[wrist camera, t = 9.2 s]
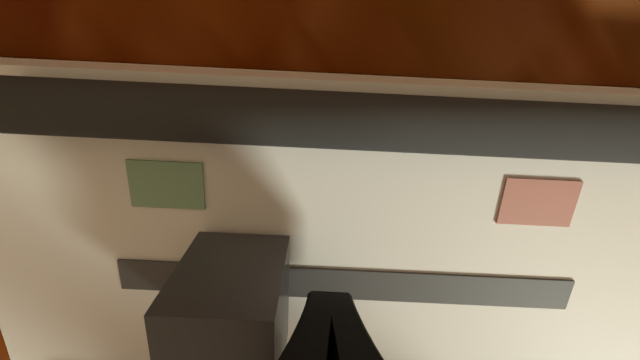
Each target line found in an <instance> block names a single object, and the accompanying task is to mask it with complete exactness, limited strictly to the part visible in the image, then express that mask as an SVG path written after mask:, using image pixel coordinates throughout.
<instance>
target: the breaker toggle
mask: <svg viewBox="0 0 640 360" xmlns="http://www.w3.org/2000/svg"><path fill="white" fill-rule="evenodd" d="M289 257H290V236H285V235H264V234H243V233H221V232H200V231H199V232H198V234H197V235H196V237H195V238H194V240H193V241H192V243H191V244H190V246H189V247H188V249H187V251H186V252H185V254H184V255H183V257H182V258H181V260H180V261H179V263H178V264H177V266H176V267H175V269H174V270H173V272H172V273H171V275H170V276H169V278H168V279H167V281H166V282H165V284H164V286H163V287H162V289H161V290H160V292H159V293H158V295H157V296H156V298H155V299H154V301H153V302H152V304H151V305H150V307H149V308H148V310H147V311H146V313H145V314H144V322H145V328H146V335H147V341H148V348H149V354H150V360H278V359H279V357H280V355H281V354H282V352H283V350H284V349H285V347H286V344H287V336H288V309H289Z"/></svg>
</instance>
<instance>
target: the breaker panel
mask: <svg viewBox="0 0 640 360" xmlns="http://www.w3.org/2000/svg"><path fill="white" fill-rule="evenodd" d="M0 75H10V76H31V77H52V78H73V79H93V80H114V81H135V82H156V83H176V84H197V85H218V86H239V87H260V88H280V89H301V90H322V91H343V92H363V93H384V94H405V95H426V96H446V97H467V98H488V99H509V100H529V101H550V102H571V103H592V104H612V105H633V106H640V88H628V87H607V86H586V85H565V84H545V83H524V82H503V81H483V80H462V79H441V78H421V77H400V76H379V75H359V74H338V73H317V72H296V71H276V70H255V69H234V68H214V67H193V66H172V65H152V64H131V63H110V62H90V61H69V60H48V59H27V58H7V57H0ZM199 231H200V232H221V233H243V234H264V235H285V236H290V257H289V309H288V336H287V343H288V342H289V340H290V338H291V336H292V334H293V332H294V330H295V328H296V326H297V324H298V322H299V319H300V317H301V314H302V312H303V309H304V307H305V303H306V300H307V295H308V293H309V292H311V291H328V292H348V293H349V294H350V295H351V296H352V299H353V301H354V304H355V306H356V309H357V311H358V313H359V316H360V318H361V320H362V322H363V324H364V326H365V328H366V330H367V332H368V333H369V335H370V337H371V339H372V340H373V342H374V344H375V346H376V348H377V349H378V351H379V352H380V354H381V356H382V357H383V359H384V360H640V164H632V163H611V162H590V161H569V160H548V159H527V158H506V157H485V156H464V155H443V154H422V153H401V152H380V151H359V150H338V149H317V148H296V147H275V146H254V145H233V144H212V143H191V142H170V141H149V140H128V139H107V138H86V137H65V136H44V135H23V134H3V133H0V329H1V332H2V335H3V338H4V341H5V344H6V347H7V350H8V353H9V356H10V359H11V360H150V354H149V348H148V341H147V335H146V328H145V322H144V314H145V313H146V311H147V310H148V308H149V307H150V305H151V304H152V302H153V301H154V299H155V298H156V296H157V295H158V293H159V292H160V290H161V289H162V287H163V286H164V284H165V282H166V281H167V279H168V278H169V276H170V275H171V273H172V272H173V270H174V269H175V267H176V266H177V264H178V263H179V261H180V260H181V258H182V257H183V255H184V254H185V252H186V251H187V249H188V247H189V246H190V244H191V243H192V241H193V240H194V238H195V237H196V235H197V234H198V232H199ZM286 345H287V344H286Z"/></svg>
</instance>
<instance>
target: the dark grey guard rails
mask: <svg viewBox="0 0 640 360" xmlns="http://www.w3.org/2000/svg"><path fill="white" fill-rule="evenodd" d="M0 133H3V134H23V135H44V136H65V137H86V138H107V139H128V140H149V141H170V142H191V143H212V144H233V145H254V146H275V147H296V148H317V149H338V150H359V151H380V152H401V153H422V154H443V155H464V156H485V157H506V158H527V159H548V160H569V161H590V162H611V163H632V164H640V106H633V105H612V104H592V103H571V102H550V101H529V100H509V99H488V98H467V97H446V96H426V95H405V94H384V93H363V92H343V91H322V90H301V89H280V88H260V87H239V86H218V85H197V84H176V83H156V82H135V81H114V80H93V79H73V78H52V77H31V76H10V75H0Z"/></svg>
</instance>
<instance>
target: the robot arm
mask: <svg viewBox="0 0 640 360" xmlns="http://www.w3.org/2000/svg"><path fill="white" fill-rule="evenodd" d="M278 360H384V359H383V357H382V356H381V354H380V352H379V351H378V349H377V348H376V346H375V344H374V342H373V340H372V339H371V337H370V335H369V333H368V332H367V330H366V328H365V326H364V324H363V322H362V320H361V318H360V316H359V313H358V311H357V309H356V306H355V304H354V301H353V299H352V296H351V295H350V294H349V293H348V292H328V291H311V292H309V293H308V295H307V300H306V303H305V307H304V309H303V312H302V314H301V317H300V319H299V322H298V324H297V326H296V328H295V330H294V332H293V334H292V336H291V338H290V340H289V342H288V343H287V345H286V347H285V349H284V350H283V352H282V354H281V355H280V357H279V359H278Z"/></svg>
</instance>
